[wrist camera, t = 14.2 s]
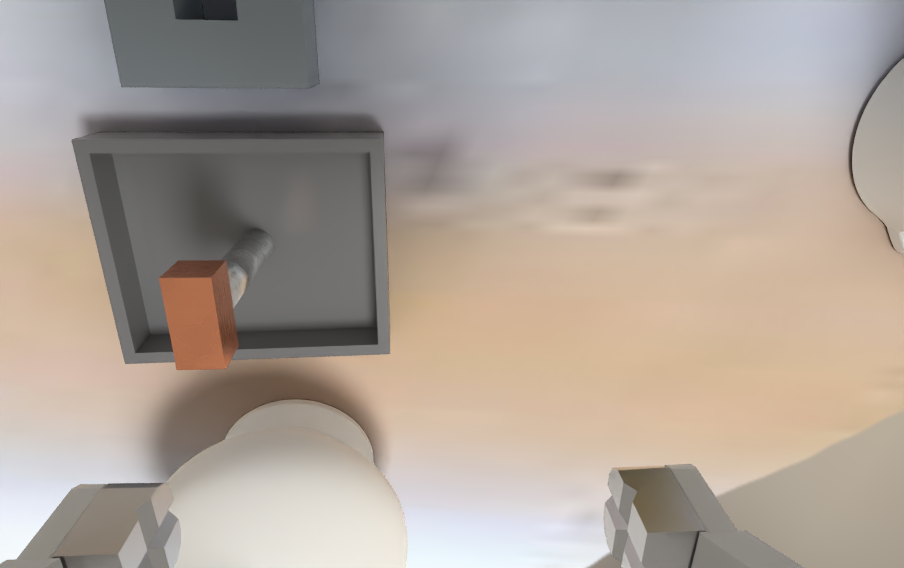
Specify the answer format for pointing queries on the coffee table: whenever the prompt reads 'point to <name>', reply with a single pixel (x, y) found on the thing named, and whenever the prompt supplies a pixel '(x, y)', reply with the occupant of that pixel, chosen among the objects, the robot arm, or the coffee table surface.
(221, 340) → the pin
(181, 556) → the decorative vase
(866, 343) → the coffee table surface
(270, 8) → the hitch block
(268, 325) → the tray
